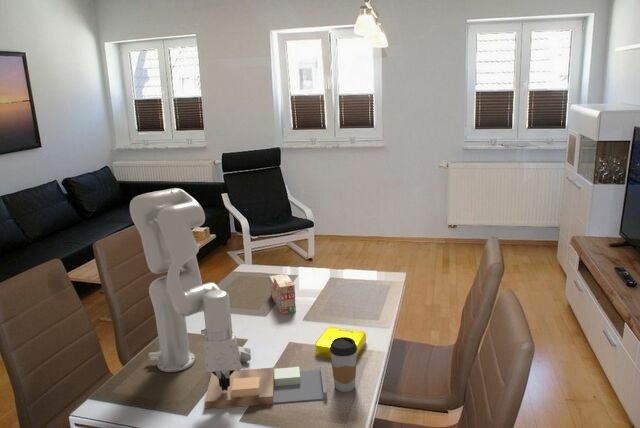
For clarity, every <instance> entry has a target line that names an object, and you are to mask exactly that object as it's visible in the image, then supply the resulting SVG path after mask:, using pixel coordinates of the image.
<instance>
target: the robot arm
mask: <svg viewBox="0 0 640 428" xmlns="http://www.w3.org/2000/svg"><path fill="white" fill-rule="evenodd" d="M129 213H130V217H131V220H132V222H133V224H134V225H135V227H136V229H137V230H138V233H139V236H140V238H141V242H142V243H141V244H142V247H143V253H144V257H145V261H146V263H147V267H148V269H149V270H150V272H151V273H153V274H162V273H166V272H167V274H166V275H164V276H160V277H158V278H155V280H153V281H151V282H150V284H149V287H148V292H149V297H150V301H151V303H152V306H153V310H154V311H153V312H154V316H155V323H156V329H157V337H158V342H159V343H158V344H159V351H158V352H157V351H156V352H153V351H151V352H148V358H149V359H150V362H155V361H157V363H156V366H157V368H158V369H159V370H160V371H162V372H166V373H177V372H181V371H184V370H186V369H189V368H190V367H191V366H193V365H194V363H195V362H196V356H195V354H194V353H193V352H191V351H190V344H189V343H190V342H189V336H188V335H189V334H188V329H187V328H188V327H187V320H186V317H190V316H192V315H195V314H198V313H200V312H203V316H204V327H205V328H204V329H201V330H200V334H201V335H204V339H203V351H202V352H203V353H202V354H203V355H202V356H203V367H204V372H205V373H208V374H212V373H213V374H214V375H215V376H217V378H218V379H219V386H220V387H222V391H224V390H226V391H227V390H228V386H230V377H229V376H230V375H231V374H232V373H233V372H234V371H238V370H242V363H241V364H240V355H239V348H238V346H239V344H238V340H237V336H236V334H235V333H234V332H233V324H232V315H231V314H232V313H231V305H230V302H231V301H230V296H229V293H228V292H227V291H226V290H222V289H221V288H220V287H219V286H218V285H217V284H216V283H215V282H210V281H209V282H205V283H203V282H202V277H201V272H200V268H199V262H198V259H197V258H198V257H197V254H198V253H199V250H200V248H199V245H198V243H197V240H196V238H195V236H194V233H193V229H196V228H198V227H201V226H203V225H204V224H205V222H206V221H205V220H206V214H205V210H204V209H203V207H202V205H201V204H200V203H199V202H198V200H196V199H195V198H194V197H193V196H191V195H190V194H189V193H188V192H186V191H185V190H184V189H181V188H178V187H174V188H167V189H163V190H155V191H152V192H146V193H142V194H140V195H137V196H134V197H133V198H132V200H130V202H129ZM222 371H226V372H225V375H224V373H222Z"/></svg>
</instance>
